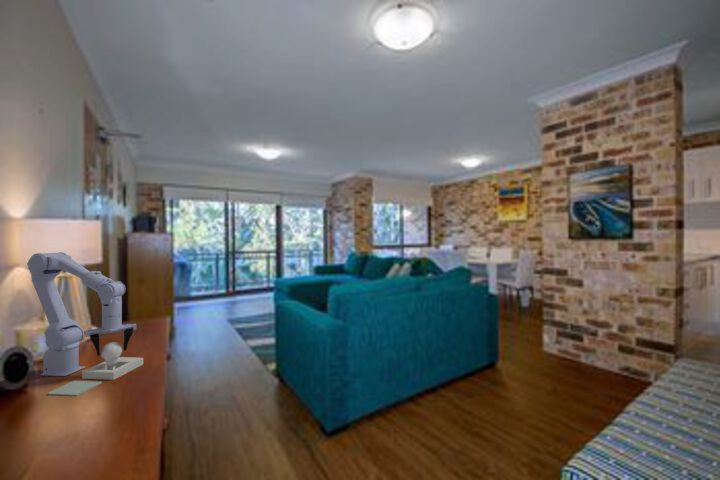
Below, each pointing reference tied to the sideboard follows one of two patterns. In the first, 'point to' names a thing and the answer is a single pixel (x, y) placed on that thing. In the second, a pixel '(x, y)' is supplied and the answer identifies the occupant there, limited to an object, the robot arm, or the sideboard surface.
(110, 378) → the bulb holder
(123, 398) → the sideboard surface
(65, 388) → the mat
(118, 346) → the lightbulb
